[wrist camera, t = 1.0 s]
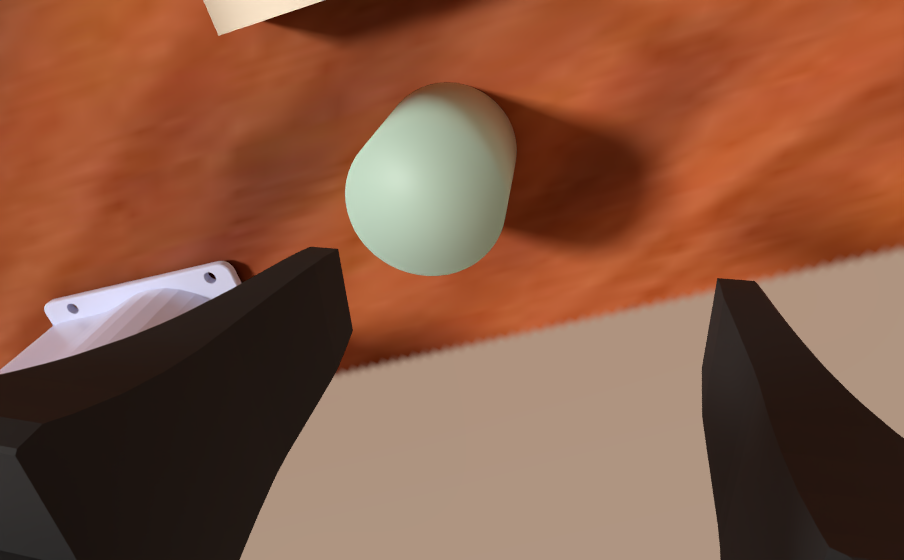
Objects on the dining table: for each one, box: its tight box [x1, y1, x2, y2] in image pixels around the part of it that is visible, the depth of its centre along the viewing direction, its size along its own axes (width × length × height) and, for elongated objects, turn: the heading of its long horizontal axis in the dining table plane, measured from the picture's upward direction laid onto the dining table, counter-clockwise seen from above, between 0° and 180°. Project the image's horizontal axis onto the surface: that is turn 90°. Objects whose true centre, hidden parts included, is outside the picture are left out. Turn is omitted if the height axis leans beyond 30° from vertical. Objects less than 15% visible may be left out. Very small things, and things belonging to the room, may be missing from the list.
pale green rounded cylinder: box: [345, 82, 517, 276], centre depth 22 cm, size 5×5×5 cm
